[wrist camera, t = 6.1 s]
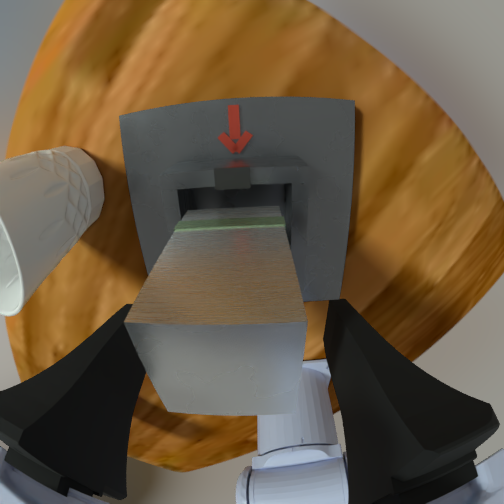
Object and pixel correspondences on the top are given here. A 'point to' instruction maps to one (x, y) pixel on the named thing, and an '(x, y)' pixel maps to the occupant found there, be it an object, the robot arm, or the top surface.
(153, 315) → the steel column
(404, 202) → the top surface
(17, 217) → the white cup
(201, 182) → the gray frame
